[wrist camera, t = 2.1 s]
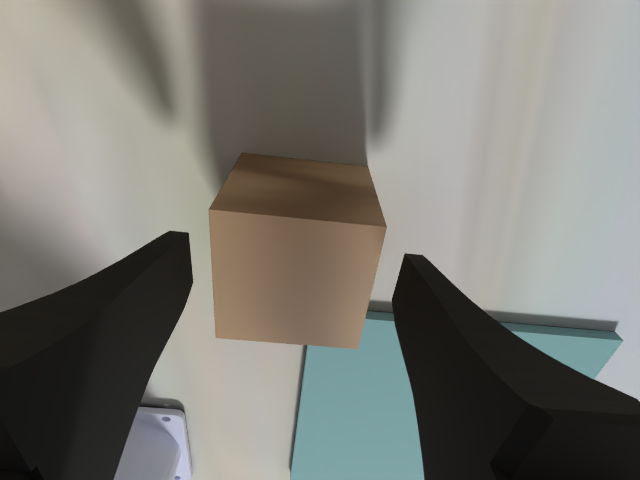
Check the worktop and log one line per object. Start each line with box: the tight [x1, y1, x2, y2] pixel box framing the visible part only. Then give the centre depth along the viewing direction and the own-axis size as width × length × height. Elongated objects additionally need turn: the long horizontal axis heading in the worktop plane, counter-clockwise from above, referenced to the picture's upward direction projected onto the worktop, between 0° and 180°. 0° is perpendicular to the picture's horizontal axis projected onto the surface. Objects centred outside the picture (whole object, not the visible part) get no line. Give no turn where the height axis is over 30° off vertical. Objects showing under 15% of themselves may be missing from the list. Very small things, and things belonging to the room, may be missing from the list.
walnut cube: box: [209, 153, 387, 349], centre depth 14 cm, size 5×5×5 cm
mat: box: [290, 311, 623, 480], centre depth 23 cm, size 16×16×1 cm
